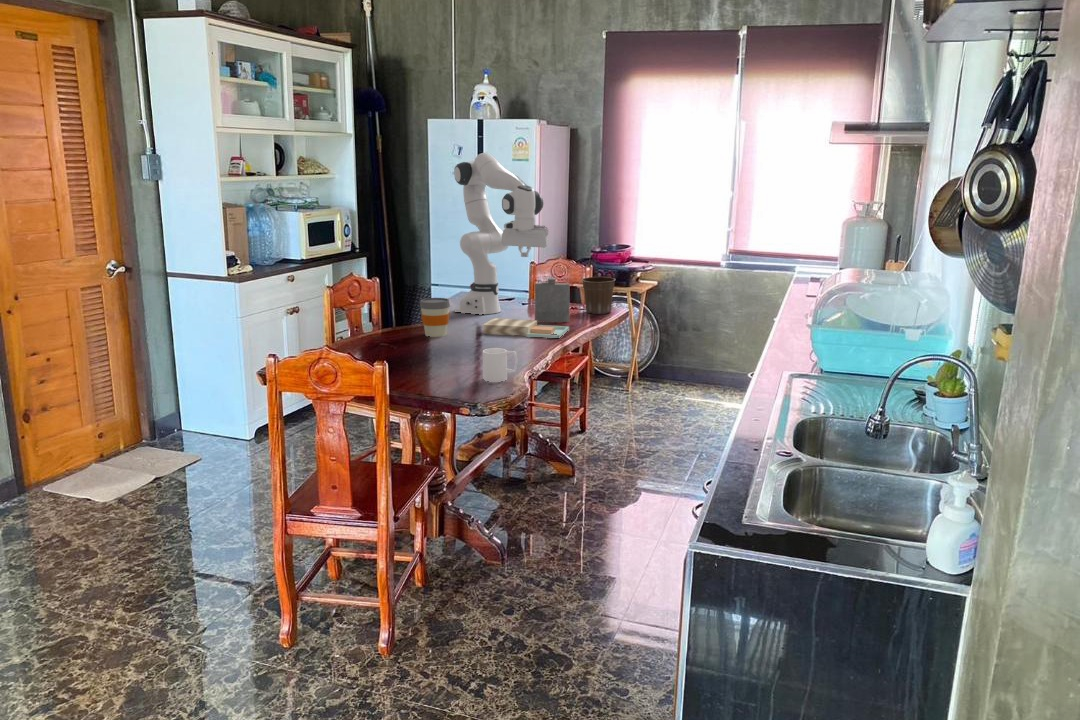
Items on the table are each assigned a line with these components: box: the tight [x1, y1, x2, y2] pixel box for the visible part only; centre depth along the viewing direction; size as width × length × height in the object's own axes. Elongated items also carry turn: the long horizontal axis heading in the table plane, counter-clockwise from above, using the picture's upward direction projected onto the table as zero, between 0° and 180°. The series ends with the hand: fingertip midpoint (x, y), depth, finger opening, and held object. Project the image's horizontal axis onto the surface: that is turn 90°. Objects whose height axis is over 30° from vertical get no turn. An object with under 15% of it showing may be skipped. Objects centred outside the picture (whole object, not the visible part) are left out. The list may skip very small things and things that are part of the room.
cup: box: [482, 347, 519, 383], centre depth 280 cm, size 8×12×10 cm
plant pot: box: [581, 276, 616, 315], centre depth 393 cm, size 16×16×16 cm
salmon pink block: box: [531, 325, 555, 335], centre depth 350 cm, size 9×6×2 cm, turn 75°
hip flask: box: [534, 277, 571, 323], centre depth 372 cm, size 16×4×20 cm, turn 81°
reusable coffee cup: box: [419, 297, 451, 338], centre depth 347 cm, size 13×13×15 cm
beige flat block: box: [482, 317, 538, 337], centre depth 354 cm, size 20×14×4 cm
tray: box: [526, 324, 570, 339], centre depth 350 cm, size 14×18×2 cm
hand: (524, 256), depth 353 cm, fingers closed
